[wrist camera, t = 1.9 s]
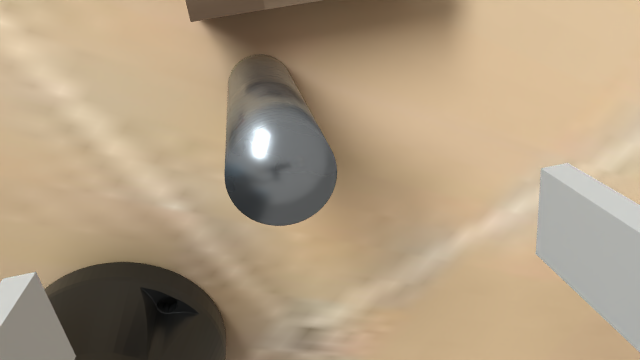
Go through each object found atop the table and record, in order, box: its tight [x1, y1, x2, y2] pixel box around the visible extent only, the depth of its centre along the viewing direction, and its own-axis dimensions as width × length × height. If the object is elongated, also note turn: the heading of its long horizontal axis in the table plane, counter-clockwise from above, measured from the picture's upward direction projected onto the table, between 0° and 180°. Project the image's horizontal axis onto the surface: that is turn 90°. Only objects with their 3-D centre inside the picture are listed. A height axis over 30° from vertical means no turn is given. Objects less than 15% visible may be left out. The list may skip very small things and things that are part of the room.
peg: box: [225, 55, 337, 226], centre depth 25 cm, size 4×4×15 cm
